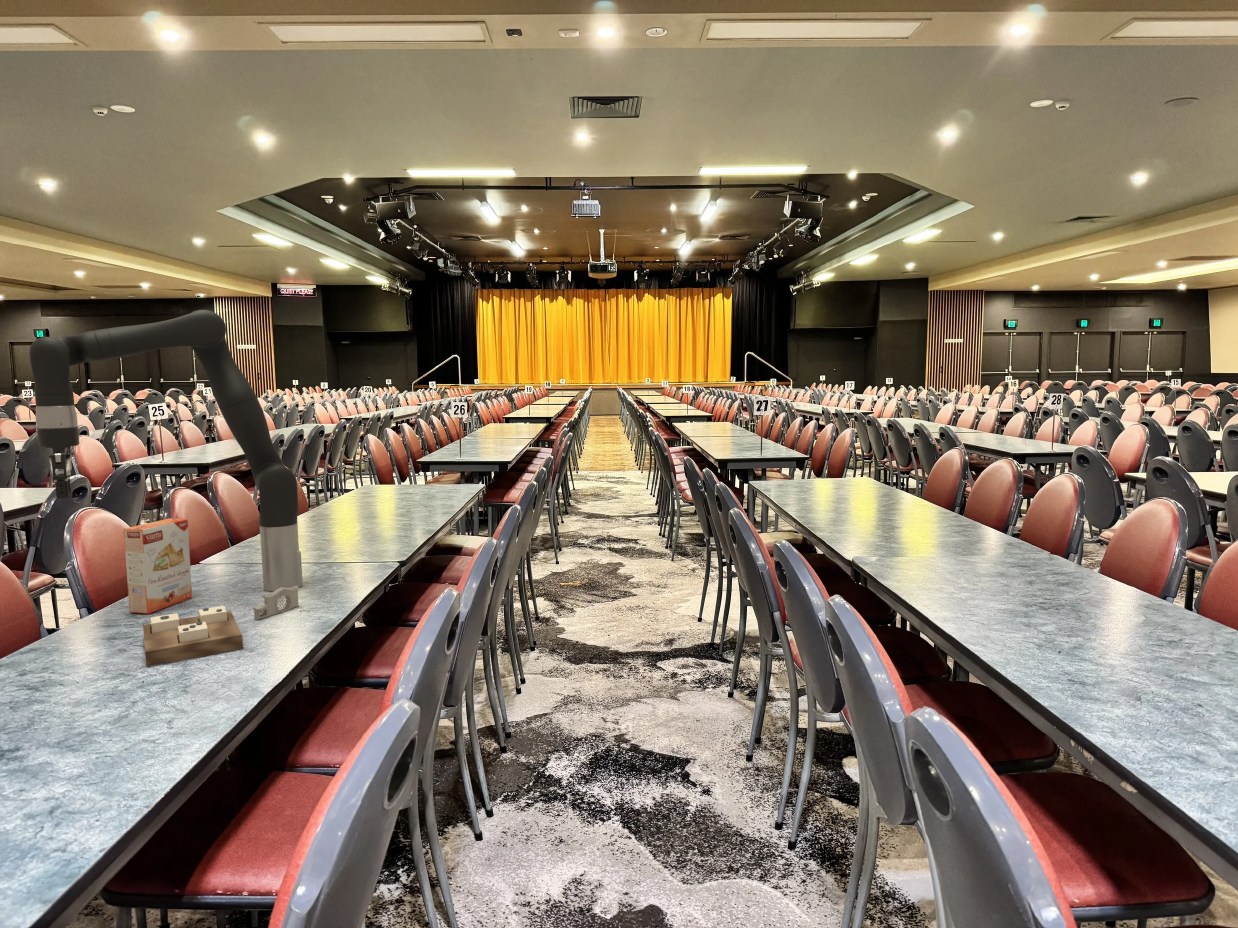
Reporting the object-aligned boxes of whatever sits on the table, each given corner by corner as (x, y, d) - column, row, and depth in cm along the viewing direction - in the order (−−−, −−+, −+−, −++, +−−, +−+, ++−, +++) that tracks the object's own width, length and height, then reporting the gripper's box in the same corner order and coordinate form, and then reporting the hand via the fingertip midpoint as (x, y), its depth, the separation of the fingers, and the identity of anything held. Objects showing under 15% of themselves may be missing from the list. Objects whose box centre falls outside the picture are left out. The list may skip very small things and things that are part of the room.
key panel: (231, 623, 168) (231, 610, 168) (243, 648, 153) (242, 634, 152) (144, 638, 159) (142, 625, 159) (146, 666, 143) (145, 651, 143)
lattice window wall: (257, 620, 170) (256, 596, 170) (252, 619, 171) (250, 595, 170) (300, 606, 181) (299, 583, 180) (295, 605, 182) (294, 582, 181)
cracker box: (149, 614, 175) (142, 529, 172) (128, 613, 176) (121, 528, 174) (194, 597, 188) (188, 517, 186) (174, 596, 190) (168, 517, 187)
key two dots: (225, 620, 166) (223, 604, 165) (227, 626, 162) (226, 610, 161) (199, 624, 163) (198, 608, 162) (201, 631, 159) (200, 614, 158)
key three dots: (206, 637, 155) (205, 620, 155) (208, 644, 151) (207, 626, 150) (179, 642, 152) (177, 624, 152) (180, 649, 148) (179, 631, 148)
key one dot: (178, 628, 161) (177, 611, 160) (180, 634, 157) (179, 617, 156) (151, 632, 158) (150, 615, 157) (152, 639, 154) (151, 622, 153)
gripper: (76, 426, 163) (82, 498, 165) (79, 423, 175) (85, 490, 177) (33, 428, 159) (40, 501, 161) (39, 424, 171) (46, 493, 173)
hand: (64, 495), depth 169 cm, fingers open, 8 cm apart
